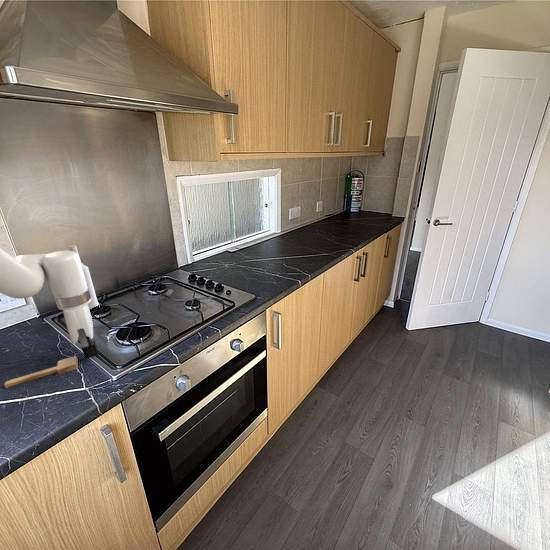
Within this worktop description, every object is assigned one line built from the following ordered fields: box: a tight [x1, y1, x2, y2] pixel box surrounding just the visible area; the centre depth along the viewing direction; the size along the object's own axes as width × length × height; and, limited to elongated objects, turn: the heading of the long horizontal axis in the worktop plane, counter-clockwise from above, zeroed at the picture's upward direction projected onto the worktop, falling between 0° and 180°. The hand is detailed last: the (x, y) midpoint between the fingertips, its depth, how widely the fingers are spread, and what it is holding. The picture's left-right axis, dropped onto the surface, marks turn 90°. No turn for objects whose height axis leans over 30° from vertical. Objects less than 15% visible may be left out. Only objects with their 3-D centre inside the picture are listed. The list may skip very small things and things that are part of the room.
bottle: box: [68, 244, 100, 310], centre depth 106 cm, size 5×5×25 cm
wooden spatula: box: [3, 355, 79, 389], centre depth 78 cm, size 16×4×2 cm, turn 120°
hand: (91, 355), depth 83 cm, fingers closed
